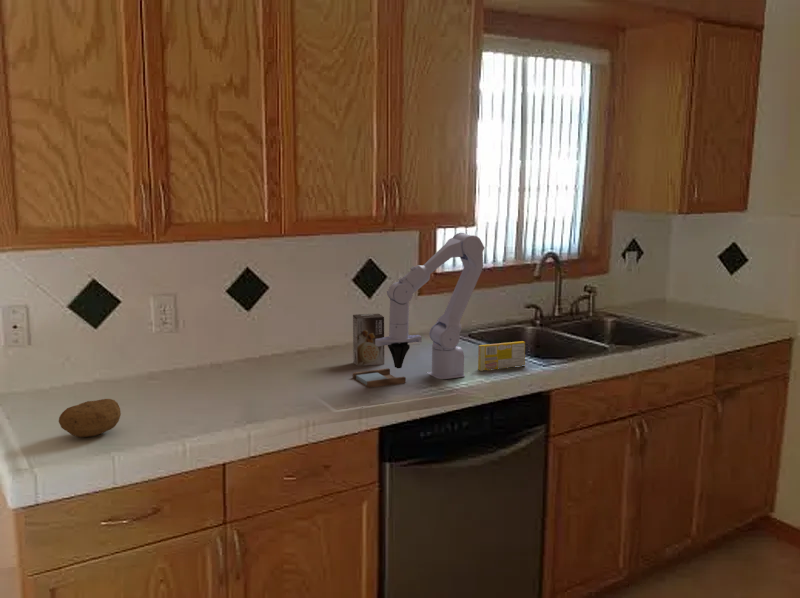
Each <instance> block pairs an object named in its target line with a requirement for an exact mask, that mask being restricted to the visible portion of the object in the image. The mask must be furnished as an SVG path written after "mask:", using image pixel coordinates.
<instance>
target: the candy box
mask: <svg viewBox="0 0 800 598" xmlns="http://www.w3.org/2000/svg"><path fill="white" fill-rule="evenodd" d="M477 349H478V351H477V352H478V355H477V356H478V359H477V364H478V366H477V370H478V371H479V370H480V372H483V370H487V371H492V370H491V369H497V370H499V369H498V368H507V367H515V366H522V365H525V366H526V341H523V340H521V341H512V342H511V341H509V342H501V343H500V342H499V343H491V344H490V343H489V344H478V348H477ZM507 369H508V368H507Z"/></svg>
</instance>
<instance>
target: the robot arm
mask: <svg viewBox="0 0 800 598" xmlns="http://www.w3.org/2000/svg"><path fill="white" fill-rule="evenodd" d="M484 249H485V246H484V243H483V241H482V240H481V239H480V237H478V236H477V235H474V234H473V235H472V234H467V233H464V232H458V233H455V234H454V235H453V237H451V238H449V239H448V240H447V241H446V243H444V244H443V246H441V247H440V248H439V250H438V251H436V253H435V254H433V255H432V256H431V257H430V258H429V259H428V260H427V261H426V262H425V263H424V264H423V265H420V264H417V265H416V266H414V265H413V266H411V267H410V268H409V270H410V271H408V272H406V274H404V276H402V277H399V278H398V281H395V282H393V283H392V284H390V285H389V287H388V289H387V291H386V294H387V297H388V299H389V319H388V320H389V323H388V330H389V331H388V336H384V338H379V339H375V345H376V346H378V347H379V346H383V345H384V346H387V347H388V349H389V352H390V355H391V357H392V360H393V366H394V368H396V369H402V367H403V363H404V360H405V358H406V355H407V353H408V351H409V350H410V347H411V345H410V344H412V343H422V338H423V337H422V335H420V334H409V327H410V326H409V324H410V323H409V321H410V305H409V304H410V301H411V300H412V299H413V296H414V294H415V293H416V292H417V291H418V290H419V289H421V288H423V286H424V285H425V284H427V283H428V282H429V281H430V279H431V274H432V273H433V272H435V271H436V270H437V269H438V268H440V267H441V266H443V264H445V263H446V262H448V261H449V260H450V259H452V258H459V259H460V261H461V262H462V263H461V264H462V265H463V269H462V271H461V272H460V275H459V278H458V280H457V282H456V284H455V287H454V290H453V292H452V295H451V297H450V298H449V301H448V304H447V306H446V308H445V311H444V312H443V314H441V316H439V317H438V318H437V320H436V322H435V324H433V325H432V326H431V327H430V329H429V334H428V335H429V338H430V341H432V346H431V350H432V351H431V371H427V372H426V374H427V375H430V376H432V377H434V378H436V379H438V380H439V379H442V380H449V379H455V378H464V377H466V375H465V371H464V369H465V354H464V350H463V348H462V347H461V346H459V342H460V335H461V331H462V324H461V319H462V318H463V315H464V313H465V310H466V309H467V305H468V303H469V302H470V299H471V297H472V294H473V292H474V290H475V287H476V286H477V283H478V281H479V278H480V276H481V274H482V271H483V268H484Z"/></svg>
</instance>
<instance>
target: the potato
mask: <svg viewBox="0 0 800 598" xmlns="http://www.w3.org/2000/svg"><path fill="white" fill-rule="evenodd" d="M121 414H122V413H121V408H120V406H119V403H118V401H116V400H115V399H112V398H102V399H97V400H87V401H85V402H84V401H83V402H82V403H79V404H77V405H73V406H69V407H67V408H66V409H65V410H63V411H62V413H61V414H60V415H59V417H58V423H59V424H58V425H60V428H61V429H62V430H64V431H66V432H67V433H69V434H71V435H72V436H74V437H76V438H91V437H95V436H99V435H101V434H103V433H106V432H108V431H109V430H112V429H114V428H115V427H116V426H117V424H118V423H119V421H120V419H121Z"/></svg>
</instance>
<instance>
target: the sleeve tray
mask: <svg viewBox="0 0 800 598" xmlns="http://www.w3.org/2000/svg"><path fill="white" fill-rule="evenodd" d="M370 373H379V374H381V375H383V376H385V377H386V378H388V379H382V380H374V381H367V385H365V384H364V383H362V382H360V381H359V380H357V379H356V375H361V374H370ZM352 379H353V380H354V381H356V382H358V383H360V384H362V385H363V386H365V387H366V388H369V389H370V388H376V387H377V388H378V387H384V386H386V387H387V386H391V385H399V384H400V385H401V384H406V379H407V378H406V376H398V377H396V376H394V375H392V374H391V369H390V368H387V367H386V368H381V369H380V368H379V369H371V370H364V371H356V372H352Z"/></svg>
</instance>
